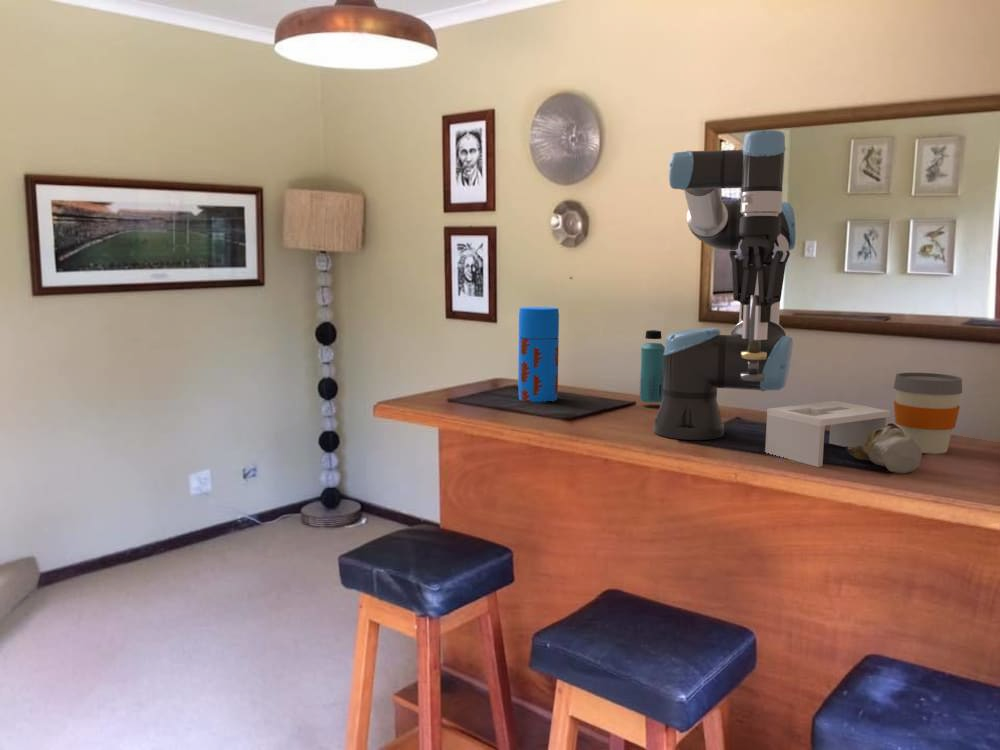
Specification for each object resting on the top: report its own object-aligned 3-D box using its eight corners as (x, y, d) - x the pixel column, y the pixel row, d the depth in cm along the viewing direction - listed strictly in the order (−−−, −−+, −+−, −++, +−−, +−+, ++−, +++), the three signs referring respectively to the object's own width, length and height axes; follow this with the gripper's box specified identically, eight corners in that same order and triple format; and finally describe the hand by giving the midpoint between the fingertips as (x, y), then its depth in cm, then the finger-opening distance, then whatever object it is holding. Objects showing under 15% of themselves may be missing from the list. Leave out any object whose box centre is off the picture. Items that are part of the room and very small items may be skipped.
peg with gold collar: (734, 378, 164) (738, 295, 161) (752, 377, 166) (756, 294, 164) (752, 382, 159) (756, 296, 157) (770, 380, 162) (775, 295, 159)
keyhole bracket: (817, 467, 156) (820, 419, 155) (765, 452, 167) (767, 408, 166) (887, 455, 166) (890, 410, 165) (832, 442, 177) (835, 400, 176)
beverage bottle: (660, 409, 215) (663, 331, 212) (635, 406, 218) (638, 330, 215) (667, 405, 221) (669, 329, 218) (642, 403, 224) (645, 328, 221)
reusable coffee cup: (882, 440, 179) (887, 371, 177) (944, 443, 177) (950, 373, 175) (899, 454, 167) (904, 380, 165) (967, 457, 165) (973, 382, 163)
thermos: (541, 394, 237) (542, 306, 233) (565, 400, 228) (567, 308, 225) (510, 398, 231) (511, 307, 227) (533, 403, 222) (534, 309, 218)
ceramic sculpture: (883, 428, 148) (842, 417, 163) (881, 477, 149) (841, 461, 164) (941, 428, 149) (895, 417, 164) (938, 476, 150) (893, 461, 165)
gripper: (716, 216, 163) (711, 336, 166) (777, 213, 150) (771, 343, 153) (744, 217, 167) (739, 334, 170) (806, 214, 153) (799, 341, 157)
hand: (754, 338), depth 162 cm, fingers closed on peg with gold collar, 2 cm apart
